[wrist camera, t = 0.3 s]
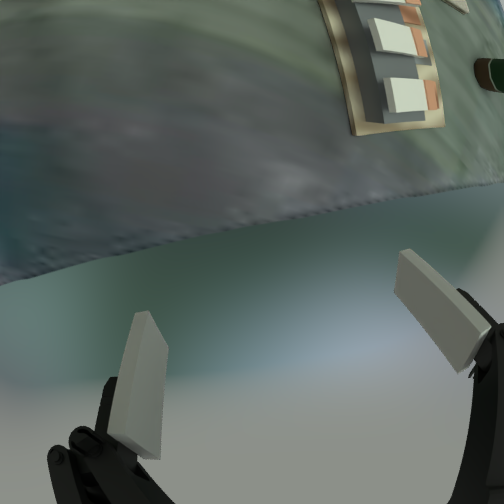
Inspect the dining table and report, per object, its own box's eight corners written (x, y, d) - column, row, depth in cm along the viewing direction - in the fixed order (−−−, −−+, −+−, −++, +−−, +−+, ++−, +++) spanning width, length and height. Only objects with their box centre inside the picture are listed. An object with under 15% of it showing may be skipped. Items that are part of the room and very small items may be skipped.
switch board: (308, -24, 23) (312, -29, 21) (406, -10, 23) (412, -12, 21) (352, 135, 36) (358, 136, 34) (439, 125, 36) (446, 127, 34)
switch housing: (327, -18, 22) (340, -30, 18) (371, -13, 22) (387, -22, 18) (365, 121, 34) (384, 123, 29) (405, 117, 34) (425, 120, 30)
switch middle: (361, 21, 21) (375, 17, 19) (407, 31, 23) (420, 29, 21) (370, 52, 23) (385, 49, 21) (414, 58, 25) (427, 57, 23)
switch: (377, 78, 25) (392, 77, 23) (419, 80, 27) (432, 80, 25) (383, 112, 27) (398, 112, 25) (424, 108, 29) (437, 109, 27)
